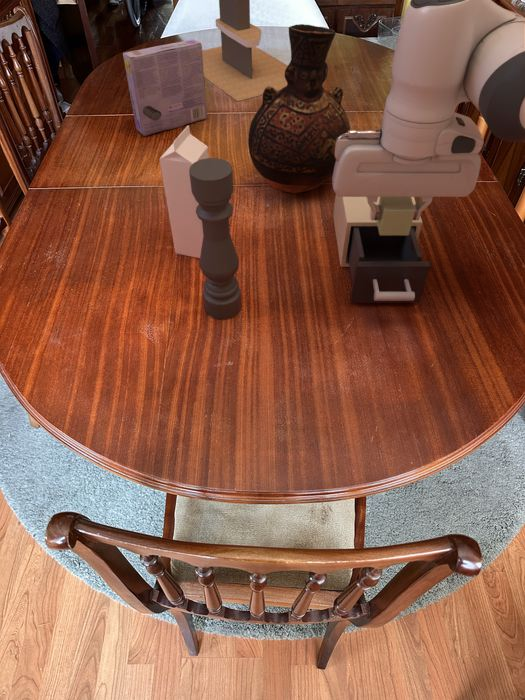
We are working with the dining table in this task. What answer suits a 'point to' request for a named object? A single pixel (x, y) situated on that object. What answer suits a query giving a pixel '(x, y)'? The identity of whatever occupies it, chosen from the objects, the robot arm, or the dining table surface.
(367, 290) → the dark grey drawer
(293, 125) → the ceramic vessel
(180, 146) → the milk
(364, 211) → the drawer cabinet
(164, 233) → the dining table surface
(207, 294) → the candle holder
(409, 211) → the block
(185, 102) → the cake pan box
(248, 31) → the architectural model
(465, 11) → the robot arm
